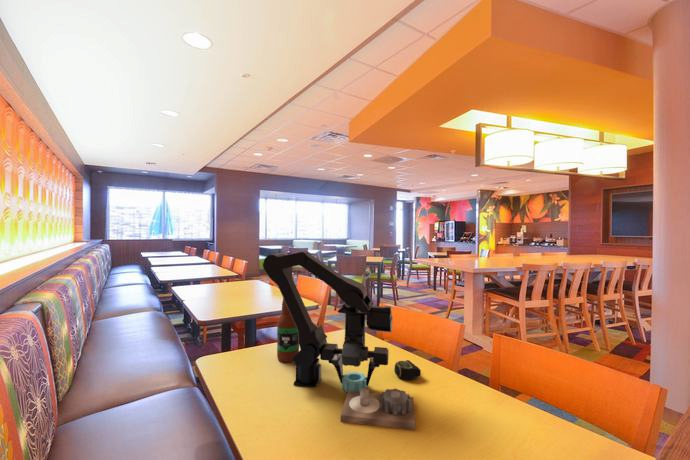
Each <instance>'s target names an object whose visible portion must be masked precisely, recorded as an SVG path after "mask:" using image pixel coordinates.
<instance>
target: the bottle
mask: <svg viewBox="0 0 690 460" xmlns="http://www.w3.org/2000/svg"><path fill="white" fill-rule="evenodd" d="M276 327H277V328H276V331H277V332H276V335H277V337H276V339H277V341H276V344H277V345H276V354H277V355H276V356H277V357H276V358H277V360H278V361H279V362H281V363H292V362H293V363H294V361H293V357H294V356H295V355H296V354H297V353H298V352H299V351H300V346H299V340H298V329H297V327H296V325H295V323H294V320H293V318H292V316H291V314H290V312H289V309H288V307H287V305H286V303H285V300H284V298H283V297H282V302H281V314H280V316H279V318H278V320H277V323H276Z"/></svg>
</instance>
